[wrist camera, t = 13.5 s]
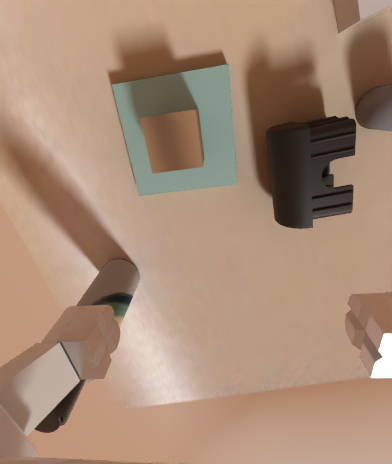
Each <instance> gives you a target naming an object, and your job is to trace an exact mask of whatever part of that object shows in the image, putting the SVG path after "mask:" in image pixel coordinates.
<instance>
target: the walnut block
mask: <svg viewBox="0 0 392 464" xmlns="http://www.w3.org/2000/svg"><path fill="white" fill-rule="evenodd" d="M140 119H141V124H142V128H143V133H144V138H145V142H146V147H147V152H148V156H149V161H150V166H151V170H152V174H153V173H161V172H169V171H176V170H184V169H192V168H200V167H203V164H204V150H203V142H202V133H201V125H200V117H199V109H194V110H188V111H182V112H175V113H169V114H163V115H156V116H150V117H144V118H140Z"/></svg>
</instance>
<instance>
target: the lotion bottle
mask: <svg viewBox="0 0 392 464" xmlns="http://www.w3.org/2000/svg"><path fill="white" fill-rule="evenodd" d="M139 278H140V275H139V272H138V270H137V268H136V267H135V266H134V265H133V264H132V263H130V262H129V261H126V260H122V259H115V260H111V261H109V262H108V263H107V264H106V265H105V266H104V267H103V268H102V270H101V271H100V272H99V274H98V275H97V277H96V278H95V279H94V281H93V282H92V284H91V285H90V287H89V288H88V289H87V291H86V292H85V294H84V295H83V297H82V298H81V299H80V301H79V302H78V304H77V305H76V306H88V305H109V306H112V308H113V311H114V315H113V317H112V318H113V319H115V320H116V321H117V322H118V324H119V327H120V325H121V323H122V321H123V318H124V316H125V314H126V311H127V309H128V307H129V304H130V302H131V300H132V297H133V295H134V293H135V290H136V288H137V286H138V283H139ZM92 380H94V379H84V380H80V382H79V383H78V384H77V385H76V386H75V387H74V388H73V389H72V390H71V391H70V392H69V393H68V394H67V395H66V396H65V397H64V398H63V399H62V400H61V401H60V402H59V403H58V405H57V406H56V407H55V408H54V409H53V410H52V411H51V412H50V413H49V414H48V415H47V416H46V417H45V418H44V419H43V420H42V421H41V422H40V423H39V424H38V425H37V426H36V427H35V428H34V429H35V430H37V431H40V432H44V433H50V432H53V431H55V430H57V429H58V428H59V426H61V425H64V424H65V423H66V421H67V419H68V417H69V415H70V413H71V411H72V409H73V407H74V405H75V403H76V400H77V398H78V396H79V394H80V392H81V390H82V388H83V386H84V384H85V383H87V382H90V381H92Z"/></svg>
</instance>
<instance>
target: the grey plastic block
mask: <svg viewBox="0 0 392 464" xmlns="http://www.w3.org/2000/svg"><path fill="white" fill-rule="evenodd" d="M334 6H335V13H336V19H337V26H338V32H339V33H341V32H343V31H345V30H347V29H349V28H351V27H353V26H355V25H357V24H359V23H361V22H364V21H366V20H368V19H370V18H372V17H374V16H376V15H378V14H380V13H382V12H384V11H386V10H388V9H389V8H391V7H392V0H334Z"/></svg>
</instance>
